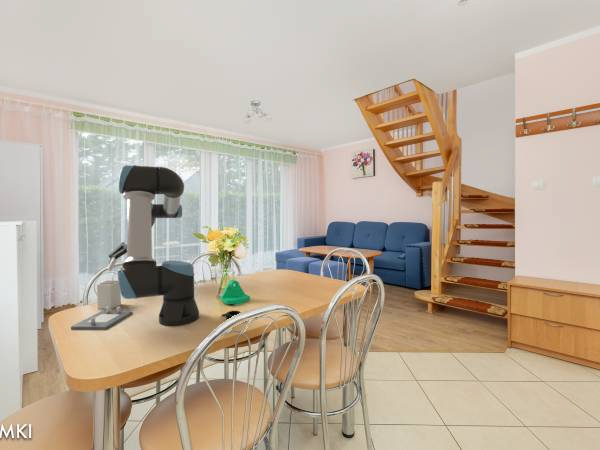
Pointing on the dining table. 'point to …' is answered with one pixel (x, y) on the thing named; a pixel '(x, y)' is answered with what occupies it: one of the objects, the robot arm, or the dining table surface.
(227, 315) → the duct tape
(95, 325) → the grey base plate
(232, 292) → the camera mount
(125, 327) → the dining table surface
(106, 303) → the block
